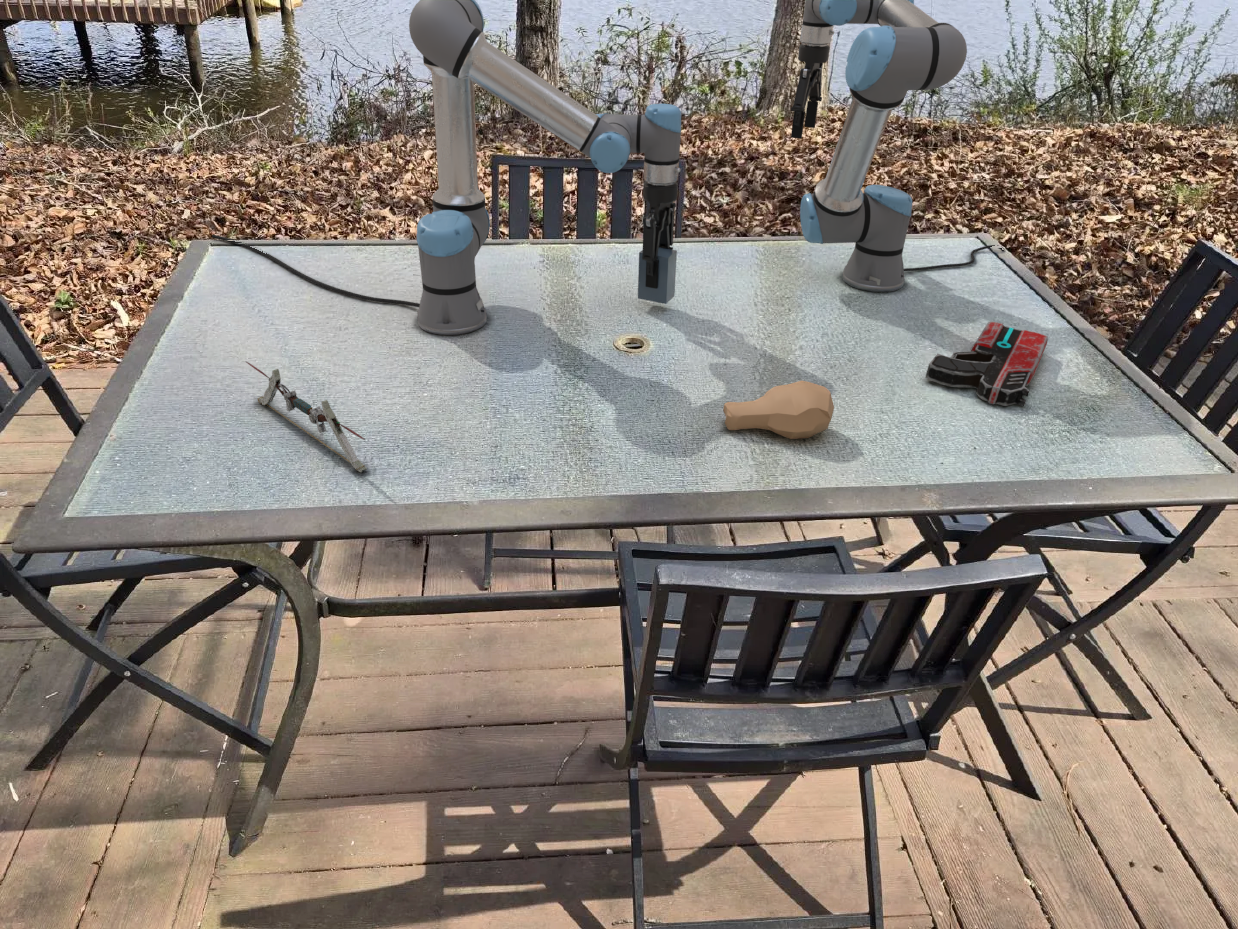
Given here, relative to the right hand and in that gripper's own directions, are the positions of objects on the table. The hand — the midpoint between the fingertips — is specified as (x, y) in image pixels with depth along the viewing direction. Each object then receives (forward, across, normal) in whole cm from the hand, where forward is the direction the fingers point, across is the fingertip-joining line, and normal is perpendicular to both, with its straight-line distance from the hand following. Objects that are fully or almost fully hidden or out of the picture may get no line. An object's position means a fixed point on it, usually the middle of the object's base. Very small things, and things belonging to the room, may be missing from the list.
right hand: (802, 132), depth 231 cm
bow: (+29, -141, +49) cm, 152 cm away
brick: (+27, -61, +15) cm, 68 cm away
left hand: (+23, -61, +16) cm, 67 cm away
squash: (+29, -102, -26) cm, 109 cm away
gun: (+29, -58, -59) cm, 88 cm away
